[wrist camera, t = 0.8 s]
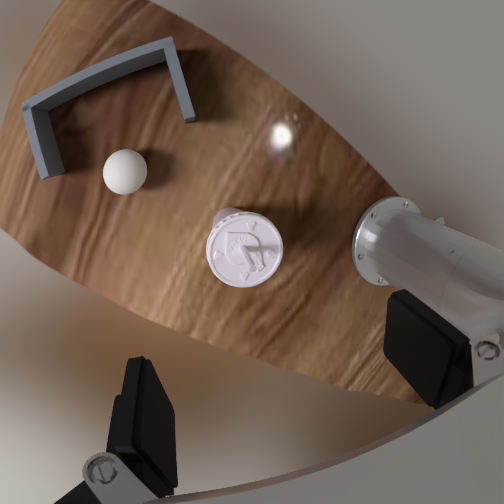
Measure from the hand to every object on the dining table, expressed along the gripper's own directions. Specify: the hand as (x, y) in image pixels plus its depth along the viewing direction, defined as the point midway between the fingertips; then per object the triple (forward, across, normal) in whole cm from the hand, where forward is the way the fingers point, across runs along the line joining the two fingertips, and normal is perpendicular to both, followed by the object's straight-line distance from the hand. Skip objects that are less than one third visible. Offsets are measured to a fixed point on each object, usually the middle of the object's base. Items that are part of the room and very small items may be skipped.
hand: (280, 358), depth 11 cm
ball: (+22, +8, -7) cm, 25 cm away
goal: (+24, +9, -14) cm, 29 cm away
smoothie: (+24, -1, +1) cm, 25 cm away
